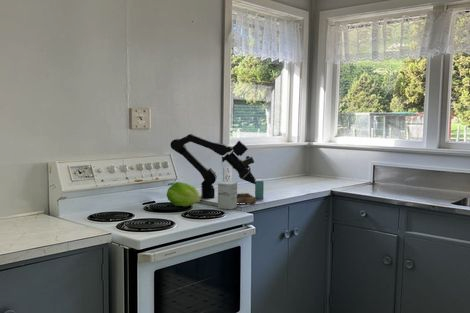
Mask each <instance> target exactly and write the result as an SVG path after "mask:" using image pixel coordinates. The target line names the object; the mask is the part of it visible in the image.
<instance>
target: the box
mask: <svg viewBox="0 0 470 313" xmlns="http://www.w3.org/2000/svg"><path fill="white" fill-rule="evenodd" d="M237 203H256V204H257V199H256V198H255V195H252V194H250V193H249V192H246V193H237Z"/></svg>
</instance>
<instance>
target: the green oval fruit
mask: <svg viewBox="0 0 470 313" xmlns="http://www.w3.org/2000/svg"><path fill="white" fill-rule="evenodd" d="M166 197H167V200H168V201H169V202H170V203H172V204H173V206H183V207H189V206H190V207H191V206H192V205H195V204H196V203H199V202H200V201H201V199H202V197H201V194H200V193H199V191H198V190H197V188H196V187H195V186H192V185H191V184H188V183H184V182H180V181H177V182H174V183H172V185H170V186H169V188H168V189H167V191H166Z"/></svg>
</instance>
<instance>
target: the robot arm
mask: <svg viewBox="0 0 470 313" xmlns="http://www.w3.org/2000/svg"><path fill="white" fill-rule="evenodd" d="M189 143H193V144H195V145H199V146H202V147H204V148H206V149H210V150H211V151H212V152H214V153H216V154H217V155H219V156H221V159H222V160H221V162H222V163H224V162H227V163H228V164H229V165H230V166H231V167H232V169H233V170H235V171H236V172H237V174H238V177H239V178H240V179H241V180H243V181H245V182H247V183H250V184H253V185H255V184H256V182H255V180H256V179H257V178H255V176H254V174H253V173H252V172H251V167H250V165H251V164H254V163H255V160H254V158H253V156H249V155H246V156H245V159H244V160H243V159H240V158H239V157H241V156H243V155H244V154H245V153H246V152H247V150H248V149H249V148H248V147H247V146H246V145H245V143H242V141H241V140H238V141H237V142H236V143H235V144H234V146H227V145H226V144H225V143H220V142H214V141H210V140H208V139H206V138H202V137H200V136H197V135H194V134H192V133H190V134H187V135H186V136H184V137H182V138H176V139H173V140H172V141H171V142H170V144H169V145H170V149H172V150H173V151H175V152H176V153H178V154H179V155H180V156H183V158H184V159H186V161H187V162H189V163H190V165H192V167H193V168H194V169H196V170H197V171H198V172H199V174H200V175H201V177H202V178H203V181H202V182H201V184H200V185H201V189H200V190H201V194H200V197H201V199H214V198H215V194H216V193H215V192H216V191H215V188H214V185H213V184H215V183H216V181H217V175H216V172H215V171H214V170H213V169H212V168H211V167H210V168H207V167H206V166H205V165H203V164H202V162H201V161H199V160H198V159H197V158H196V157H195V155H193V154H192V152H190V151H189V149H188V148H187V146H186V144H189Z"/></svg>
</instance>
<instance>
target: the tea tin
mask: <svg viewBox="0 0 470 313" xmlns="http://www.w3.org/2000/svg"><path fill="white" fill-rule="evenodd" d="M255 179H256V180H255V182H256V184H254V197H255V198H256V200H257V199H258V200H259V199H260V200H264V192H265V191H264V184H265V182H264V179H263V178H261V179H260V178H258V179H257V178H255Z"/></svg>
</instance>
